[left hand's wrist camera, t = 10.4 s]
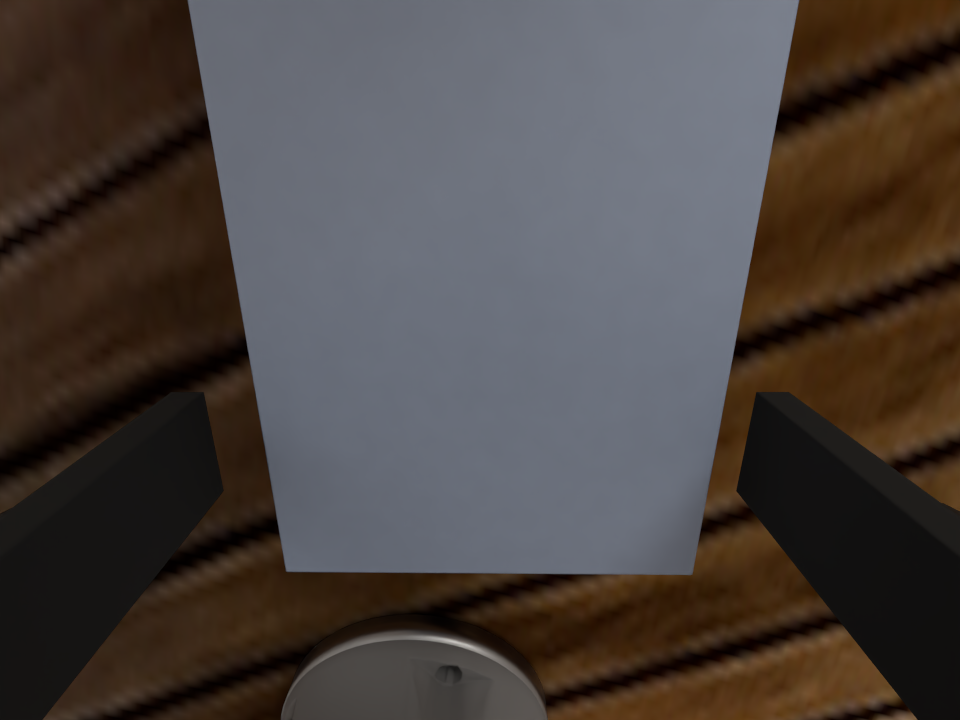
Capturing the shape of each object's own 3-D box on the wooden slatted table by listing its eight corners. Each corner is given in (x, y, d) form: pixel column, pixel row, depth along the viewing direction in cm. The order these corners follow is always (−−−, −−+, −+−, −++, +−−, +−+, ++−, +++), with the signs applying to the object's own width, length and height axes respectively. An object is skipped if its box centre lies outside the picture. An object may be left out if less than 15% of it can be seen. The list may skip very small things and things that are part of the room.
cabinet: (335, -61, 18) (120, -377, 7) (644, -63, 18) (872, -386, 7) (372, 393, 24) (285, 572, 13) (602, 394, 24) (693, 575, 13)
